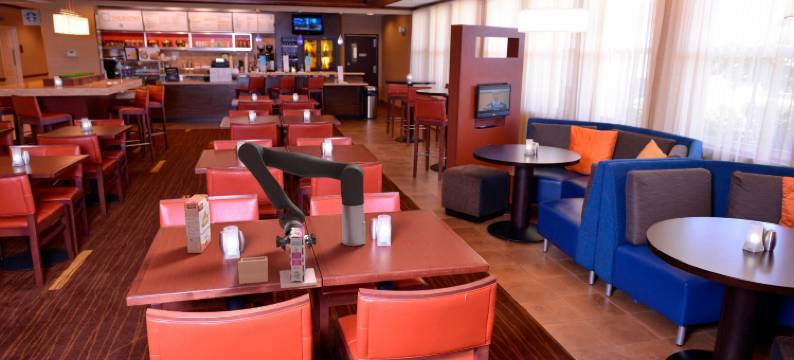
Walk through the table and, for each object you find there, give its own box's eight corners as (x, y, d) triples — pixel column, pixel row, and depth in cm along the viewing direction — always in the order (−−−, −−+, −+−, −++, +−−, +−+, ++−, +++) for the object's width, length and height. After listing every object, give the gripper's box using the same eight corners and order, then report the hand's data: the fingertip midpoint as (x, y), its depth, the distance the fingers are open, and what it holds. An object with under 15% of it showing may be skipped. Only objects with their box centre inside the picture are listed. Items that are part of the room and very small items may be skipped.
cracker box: (202, 253, 212) (198, 202, 207) (187, 254, 211) (182, 203, 207) (212, 241, 225) (208, 193, 221) (197, 242, 225) (193, 193, 220)
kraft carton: (267, 261, 204) (266, 241, 202) (268, 281, 186) (266, 259, 184) (241, 263, 202) (240, 243, 200) (239, 284, 184) (237, 262, 182)
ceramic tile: (313, 270, 196) (313, 268, 195) (316, 285, 183) (316, 282, 183) (279, 273, 193) (279, 270, 193) (280, 288, 181) (280, 285, 180)
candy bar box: (305, 282, 183) (303, 236, 179) (290, 283, 182) (288, 237, 179) (306, 269, 194) (304, 226, 190) (292, 270, 193) (290, 227, 189)
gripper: (274, 224, 200) (275, 238, 184) (313, 221, 203) (317, 235, 188) (275, 243, 201) (276, 258, 186) (313, 240, 205) (318, 255, 189)
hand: (297, 247), depth 187 cm, fingers open, 8 cm apart
